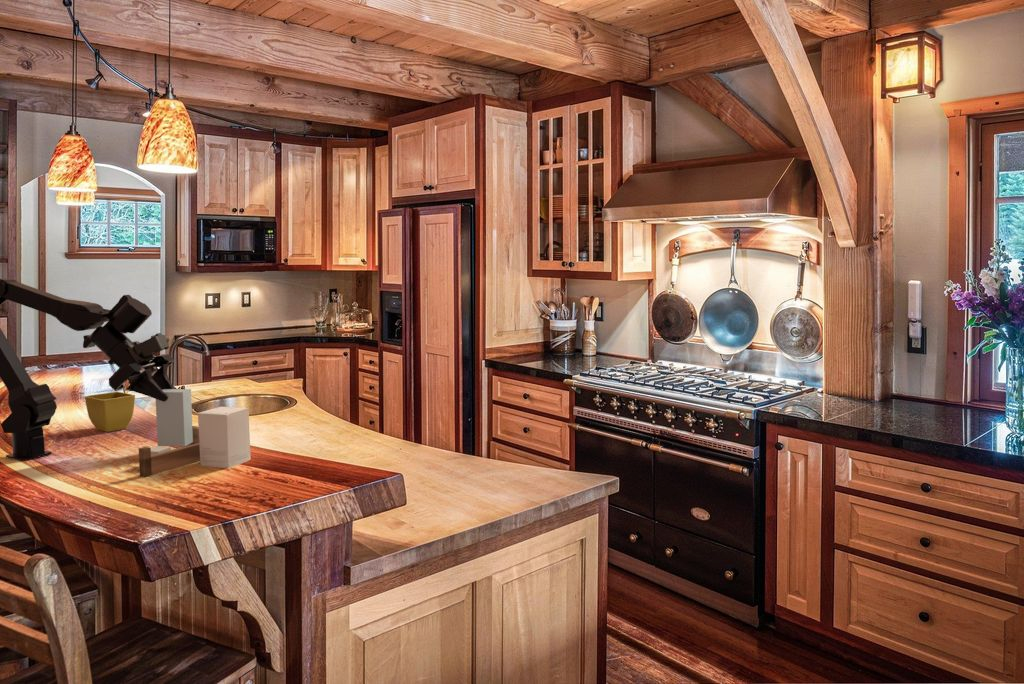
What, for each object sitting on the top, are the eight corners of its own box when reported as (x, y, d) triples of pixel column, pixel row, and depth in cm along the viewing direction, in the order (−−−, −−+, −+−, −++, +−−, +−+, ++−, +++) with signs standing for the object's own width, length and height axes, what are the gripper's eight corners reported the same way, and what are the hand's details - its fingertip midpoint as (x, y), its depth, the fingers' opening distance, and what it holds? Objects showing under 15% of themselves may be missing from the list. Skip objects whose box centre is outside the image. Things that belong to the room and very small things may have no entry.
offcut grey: (140, 457, 151) (140, 450, 151) (153, 453, 155) (153, 446, 154) (158, 459, 150) (158, 451, 150) (170, 454, 154) (170, 447, 154)
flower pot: (137, 428, 193) (136, 394, 192) (104, 435, 186) (102, 399, 185) (118, 424, 198) (117, 391, 197) (85, 430, 190) (83, 396, 190)
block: (157, 446, 162) (155, 392, 161) (166, 441, 166) (164, 389, 165) (184, 446, 162) (182, 392, 161) (192, 442, 166) (190, 389, 165)
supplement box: (252, 466, 158) (250, 408, 157) (228, 475, 151) (226, 414, 150) (223, 463, 160) (221, 405, 159) (199, 472, 153) (196, 412, 152)
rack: (86, 473, 152) (84, 439, 151) (188, 446, 175) (187, 416, 174) (145, 484, 145) (143, 449, 144) (244, 454, 167) (243, 424, 167)
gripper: (120, 326, 152) (176, 379, 153) (163, 319, 171) (213, 367, 172) (84, 363, 153) (140, 416, 154) (131, 352, 172) (180, 400, 173)
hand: (170, 398), depth 163 cm, fingers closed on block, 4 cm apart
